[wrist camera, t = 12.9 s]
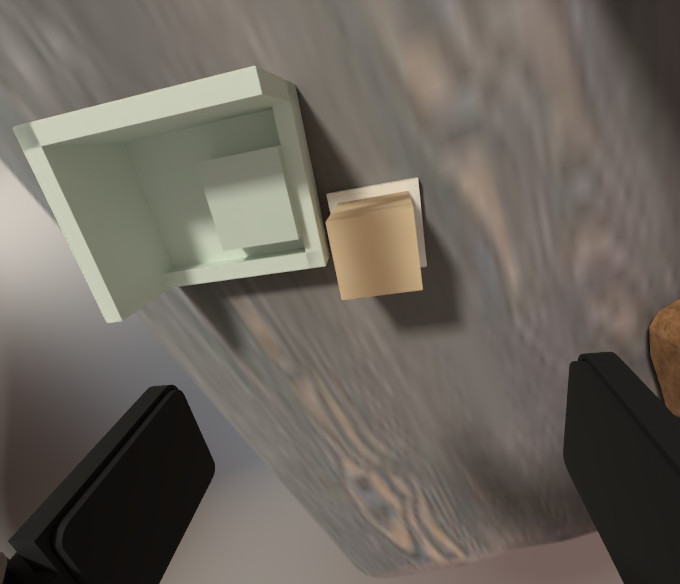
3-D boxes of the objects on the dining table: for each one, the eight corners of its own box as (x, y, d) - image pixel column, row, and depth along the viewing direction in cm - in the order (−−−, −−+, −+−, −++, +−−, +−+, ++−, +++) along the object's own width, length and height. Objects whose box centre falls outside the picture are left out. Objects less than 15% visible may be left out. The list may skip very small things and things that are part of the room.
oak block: (408, 190, 26) (413, 207, 20) (416, 258, 27) (422, 290, 22) (338, 203, 26) (325, 222, 21) (350, 267, 28) (341, 300, 23)
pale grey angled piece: (295, 84, 24) (255, 65, 17) (330, 255, 29) (310, 297, 22) (113, 127, 27) (11, 126, 20) (171, 278, 31) (106, 323, 24)
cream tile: (417, 177, 26) (417, 178, 25) (426, 263, 28) (427, 266, 28) (327, 192, 27) (326, 194, 26) (343, 274, 29) (342, 277, 29)
